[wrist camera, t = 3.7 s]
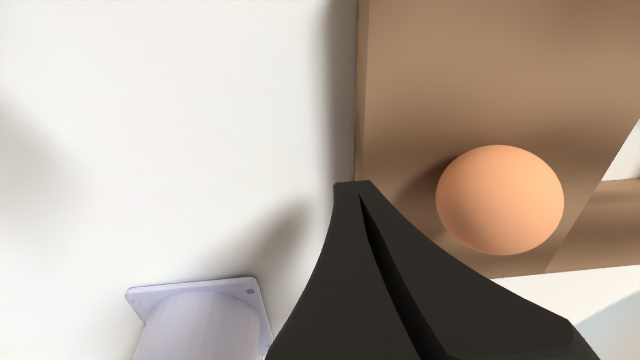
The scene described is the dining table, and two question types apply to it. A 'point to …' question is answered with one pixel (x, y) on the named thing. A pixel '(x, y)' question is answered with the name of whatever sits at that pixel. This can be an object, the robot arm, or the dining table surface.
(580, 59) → the hole board
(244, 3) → the dining table surface
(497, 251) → the ball
